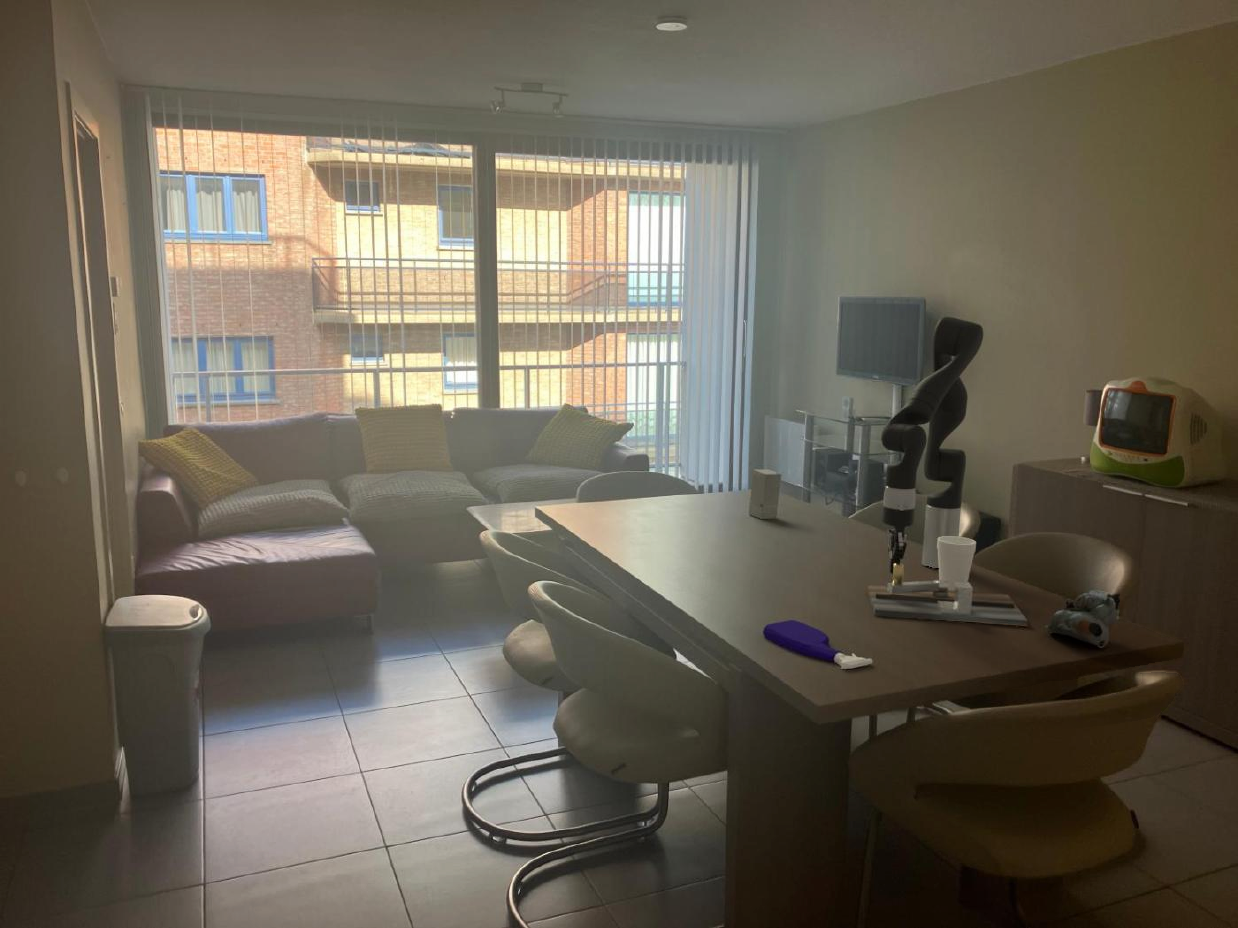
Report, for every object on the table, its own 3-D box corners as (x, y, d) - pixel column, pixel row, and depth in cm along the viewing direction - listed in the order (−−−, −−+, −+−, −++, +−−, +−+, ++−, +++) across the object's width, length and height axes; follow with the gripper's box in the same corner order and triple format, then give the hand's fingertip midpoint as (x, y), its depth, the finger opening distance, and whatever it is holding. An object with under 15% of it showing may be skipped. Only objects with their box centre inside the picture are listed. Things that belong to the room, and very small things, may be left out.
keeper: (937, 605, 237) (939, 579, 236) (965, 607, 236) (968, 581, 235) (940, 613, 231) (943, 586, 230) (970, 615, 230) (972, 588, 229)
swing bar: (942, 587, 247) (945, 559, 246) (951, 591, 244) (953, 563, 243) (885, 590, 243) (887, 562, 242) (893, 594, 240) (895, 566, 239)
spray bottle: (758, 625, 216) (839, 662, 195) (797, 617, 221) (878, 653, 201) (758, 638, 216) (838, 677, 196) (796, 630, 222) (877, 667, 201)
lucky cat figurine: (1037, 628, 227) (1065, 574, 227) (1088, 654, 224) (1116, 599, 225) (1055, 629, 212) (1085, 572, 212) (1110, 658, 209) (1140, 599, 210)
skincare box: (748, 514, 341) (750, 469, 338) (765, 513, 344) (768, 468, 341) (761, 520, 333) (764, 473, 331) (779, 518, 336) (782, 472, 334)
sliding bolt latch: (867, 590, 253) (868, 580, 253) (1007, 600, 248) (1008, 590, 247) (874, 615, 233) (875, 604, 232) (1027, 627, 227) (1028, 615, 227)
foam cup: (946, 595, 251) (951, 545, 249) (926, 585, 260) (930, 536, 258) (979, 593, 253) (983, 543, 251) (958, 583, 262) (962, 535, 260)
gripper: (879, 498, 249) (874, 564, 252) (888, 510, 236) (883, 580, 239) (909, 499, 248) (904, 566, 251) (920, 511, 235) (915, 581, 238)
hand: (894, 573), depth 245 cm, fingers closed
